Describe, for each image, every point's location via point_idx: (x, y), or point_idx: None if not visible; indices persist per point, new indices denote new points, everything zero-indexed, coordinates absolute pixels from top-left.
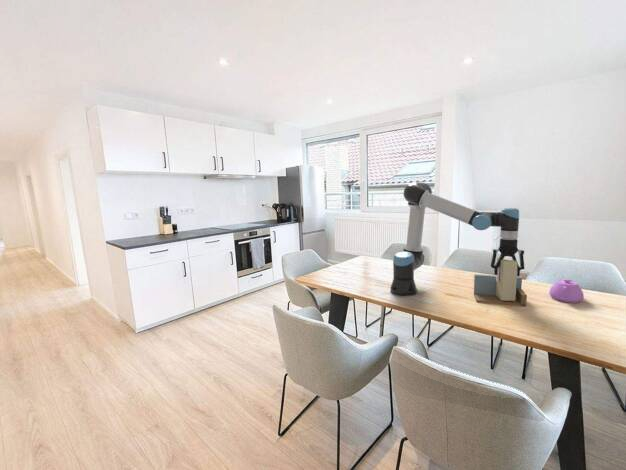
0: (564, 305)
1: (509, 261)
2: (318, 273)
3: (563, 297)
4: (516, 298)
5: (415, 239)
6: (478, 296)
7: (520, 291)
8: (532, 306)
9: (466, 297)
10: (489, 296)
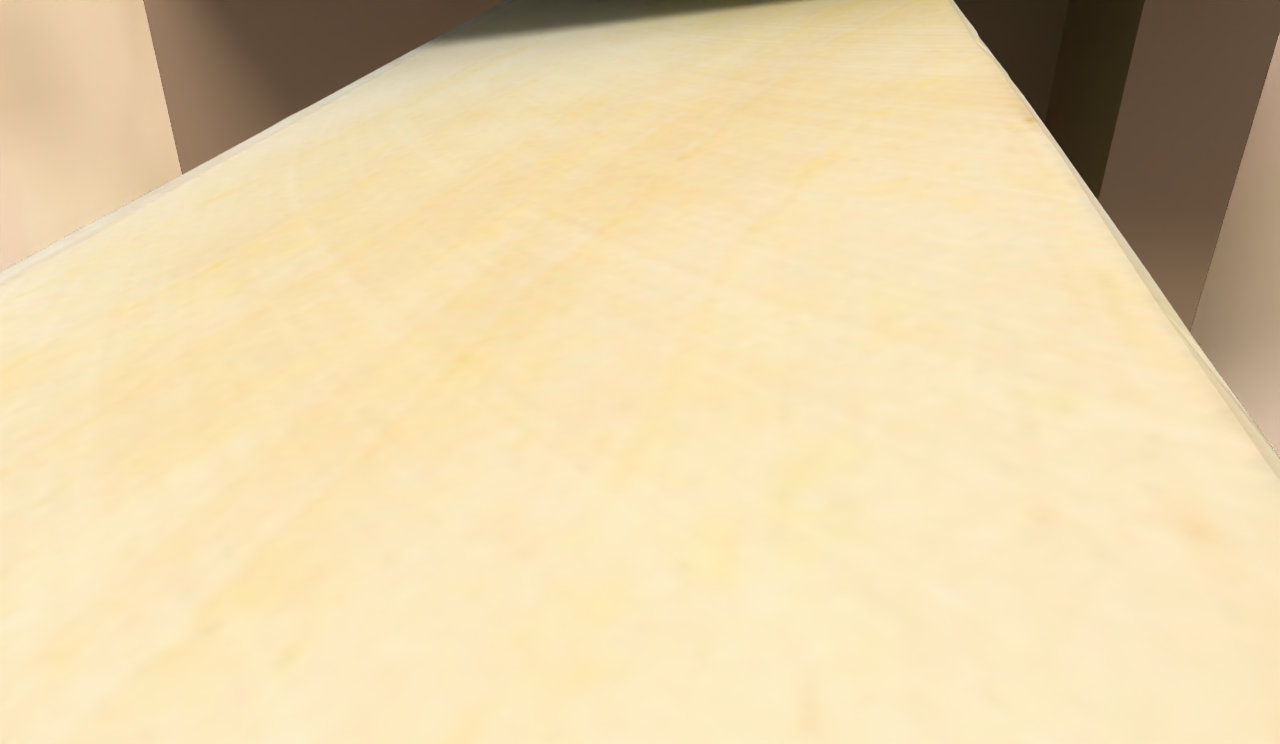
0: None
1: None
2: None
3: None
4: (1041, 13)
5: None
6: (221, 68)
7: (1130, 206)
8: (1221, 303)
9: (31, 40)
10: (440, 7)
